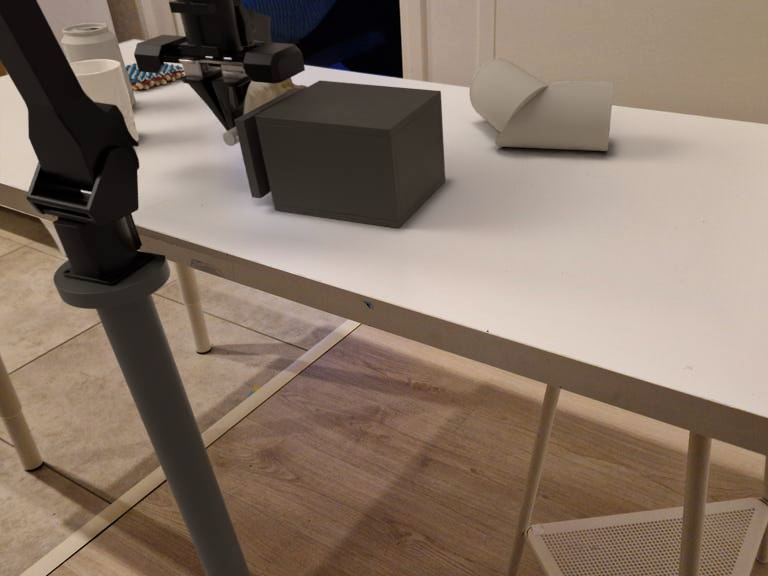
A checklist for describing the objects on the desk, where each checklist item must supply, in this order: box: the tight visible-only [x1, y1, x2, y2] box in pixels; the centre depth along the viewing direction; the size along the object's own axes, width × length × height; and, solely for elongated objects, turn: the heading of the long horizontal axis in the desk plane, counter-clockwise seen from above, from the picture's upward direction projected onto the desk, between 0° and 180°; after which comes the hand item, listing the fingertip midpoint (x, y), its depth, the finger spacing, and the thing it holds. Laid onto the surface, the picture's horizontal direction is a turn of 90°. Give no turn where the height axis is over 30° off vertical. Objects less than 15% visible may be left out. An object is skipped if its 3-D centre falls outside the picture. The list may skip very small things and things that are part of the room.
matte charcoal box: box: [255, 80, 446, 229], centre depth 81 cm, size 16×14×11 cm
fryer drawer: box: [222, 88, 303, 199], centre depth 82 cm, size 19×12×9 cm, turn 71°
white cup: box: [70, 59, 140, 142], centre depth 97 cm, size 8×8×10 cm
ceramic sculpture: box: [243, 77, 308, 115], centre depth 108 cm, size 11×9×15 cm
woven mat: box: [125, 62, 185, 91], centre depth 123 cm, size 10×11×2 cm
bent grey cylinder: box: [469, 58, 615, 152], centre depth 96 cm, size 18×11×20 cm
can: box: [60, 22, 137, 107], centre depth 108 cm, size 8×8×12 cm
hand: (236, 135), depth 85 cm, fingers closed
